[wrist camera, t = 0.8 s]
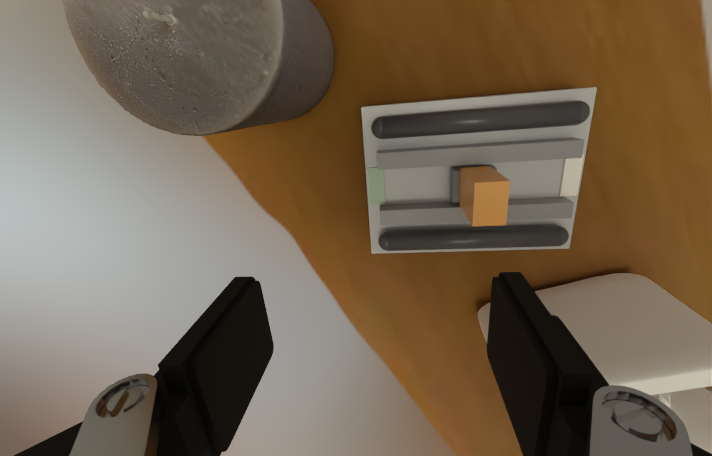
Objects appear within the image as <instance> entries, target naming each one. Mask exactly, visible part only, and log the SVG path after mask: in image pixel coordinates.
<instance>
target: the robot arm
mask: <svg viewBox="0 0 712 456" xmlns="http://www.w3.org/2000/svg"><path fill="white" fill-rule="evenodd" d="M272 353H273V341H272V336H271V331H270V326H269V322H268V317H267V312H266V308H265V304H264V298H263V294H262V289H261V285H260V283H259V281H255V279H254V277H235V278H234V279H233V280H232V281H231V283H229V285H228V286H227V287H226V288H225V289H224V290H223V291H222V293H221V294H220V295H219V296H218V297H217V298H216V299H215V301H214V302H213V303H212V304H211V305H210V306H209V307H208V309H207V310H206V311H205V312H204V313H203V314H202V315H201V316H200V318H199V319H198V320H197V321H196V322H195V323H194V324H193V326H192V327H191V328H190V329H189V330H188V331H187V332H186V334H185V335H184V336H183V337H182V338H181V339H180V340H179V342H178V343H177V344H176V345H175V346H174V347H173V348H172V349H171V351H170V352H169V353H168V354H167V355H166V356H165V357H164V359H163V360H162V361H161V362H160V363H159V364H158V367H159V371H158V372H157V373H156V374H155V375H154V376H152V375H150V374H136V375H132V376H129V377H126V378H124V379H121V380H119V381H117V382H116V383H114V384H112V385H110V386H109V387H107V388H106V389H105V390H104V391H102V392H101V393H100V394H99V395H98V396H97V397H96V398H95V399H94V400H93V402H92V403H91V405H90V407H89V408H88V411H87V413H86V415H85V418H84V421H83V422H81V423H79V424H77V425H75V426H73V427H71V428H69V429H67V430H65V431H63V432H61V433H59V434H57V435H55V436H53V437H51V438H49V439H47V440H45V441H43V442H41V443H39V444H37V445H35V446H33V447H31V448H29V449H26V450H25V451H22V452H20V453H18V454H16V455H15V456H220V454H221V452H224V451H226V450H227V449H228V447H229V445H230V444H231V441H232V439H233V437H234V435H235V433H236V431H237V429H238V426H239V424H240V422H241V420H242V418H243V416H244V414H245V412H246V409H247V407H248V405H249V403H250V401H251V399H252V397H253V395H254V392H255V390H256V388H257V386H258V384H259V382H260V380H261V378H262V376H263V373H264V371H265V369H266V367H267V365H268V363H269V360H270V359H271V356H272ZM487 354H488V358H489V361H490V364H491V367H492V370H493V373H494V375H495V378H496V381H497V384H498V386H499V389H500V392H501V395H502V398H503V400H504V403H505V406H506V409H507V412H508V414H509V417H510V420H511V423H512V425H513V428H514V431H515V434H516V437H517V439H518V442H519V445H520V448H521V451H522V453H523V456H712V454H711V453H709V452H707V451H705V450H703V449H702V448H700V447H698V446H696V445H694V444H692V443H690V440H689V435H688V432H687V429H686V427H685V425H684V423H683V422H682V420H681V419H680V418H679V417H678V416H677V414H676V413H675V412H674V411H673V410H671V409H670V408H669V407H668V406H666V405H665V404H664V403H663V402H661V401H659V400H658V399H656V398H654V397H653V396H651V395H649V394H647V393H644V392H642V391H639V390H637V389H634V388H630V387H626V386H618V385H609V384H608V382H607V381H606V380H605V378H604V377H603V376H602V374H601V373H600V371H599V370H598V369H597V367H596V366H595V365H594V363H593V362H592V361H591V359H590V358H589V357H588V355H587V354H586V353H585V351H584V350H583V349H582V347H581V346H580V345H579V343H578V342H577V341H576V339H575V338H574V337H573V335H572V334H571V333H570V331H569V330H568V329H567V327H566V326H565V325H564V323H563V322H562V320H561V319H560V318H559V317H558V316H555V315H551V314H550V313H549V311H548V310H547V308H546V307H545V306H544V304H543V303H542V301H541V300H540V299H539V297H538V296H537V294H536V293H535V292H534V290H533V289H532V287H531V286H530V285H529V283H528V282H527V280H526V279H525V278H524V276H523V275H522V274H521V273H520V272H501V273H500V274H499V276H498V277H494V278H493V280H492V290H491V302H490V314H489V327H488V339H487ZM705 388H706V389H707V390H708V391H709V392H710V393H711V394H712V386H708V387H705Z"/></svg>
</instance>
